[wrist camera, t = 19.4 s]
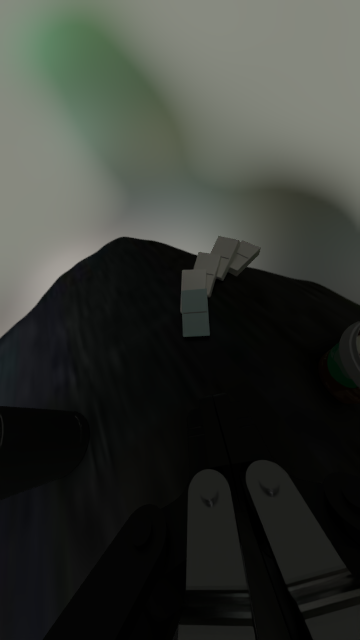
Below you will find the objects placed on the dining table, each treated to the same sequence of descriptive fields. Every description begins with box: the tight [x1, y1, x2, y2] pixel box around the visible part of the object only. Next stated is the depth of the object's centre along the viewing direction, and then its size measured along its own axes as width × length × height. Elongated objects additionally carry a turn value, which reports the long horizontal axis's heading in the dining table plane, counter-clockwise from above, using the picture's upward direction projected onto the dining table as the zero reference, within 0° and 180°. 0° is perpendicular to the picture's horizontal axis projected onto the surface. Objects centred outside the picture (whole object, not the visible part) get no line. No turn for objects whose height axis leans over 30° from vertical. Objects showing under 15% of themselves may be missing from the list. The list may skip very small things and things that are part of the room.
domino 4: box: [211, 236, 240, 281], centre depth 40 cm, size 2×5×9 cm
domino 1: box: [194, 252, 221, 297], centre depth 39 cm, size 2×5×9 cm
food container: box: [318, 321, 360, 404], centre depth 24 cm, size 12×6×10 cm, turn 138°
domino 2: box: [180, 269, 207, 313], centre depth 37 cm, size 2×5×9 cm
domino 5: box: [228, 241, 260, 276], centre depth 42 cm, size 2×5×9 cm
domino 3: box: [181, 288, 210, 337], centre depth 34 cm, size 2×5×9 cm
